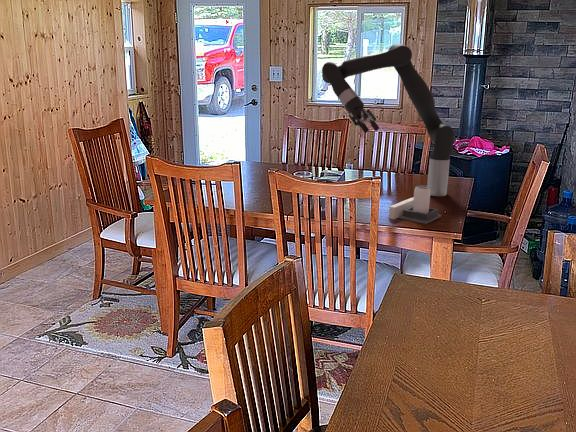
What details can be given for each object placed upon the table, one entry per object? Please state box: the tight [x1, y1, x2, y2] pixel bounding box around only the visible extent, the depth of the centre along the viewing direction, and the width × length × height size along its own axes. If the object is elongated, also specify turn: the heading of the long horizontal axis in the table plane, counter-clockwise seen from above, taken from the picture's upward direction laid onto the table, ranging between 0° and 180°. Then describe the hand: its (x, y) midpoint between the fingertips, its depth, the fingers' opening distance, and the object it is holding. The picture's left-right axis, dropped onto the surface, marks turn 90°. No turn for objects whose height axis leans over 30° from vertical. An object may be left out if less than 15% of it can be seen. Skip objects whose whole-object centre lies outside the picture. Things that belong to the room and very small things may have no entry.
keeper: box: [398, 206, 442, 225], centre depth 235 cm, size 14×12×3 cm
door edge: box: [388, 196, 414, 220], centre depth 240 cm, size 20×2×5 cm, turn 141°
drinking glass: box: [310, 178, 335, 209], centre depth 244 cm, size 10×10×12 cm
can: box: [413, 184, 431, 214], centre depth 234 cm, size 6×6×12 cm
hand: (372, 130), depth 245 cm, fingers open, 8 cm apart
